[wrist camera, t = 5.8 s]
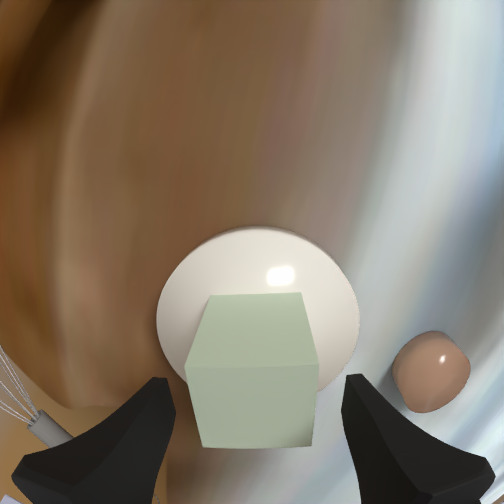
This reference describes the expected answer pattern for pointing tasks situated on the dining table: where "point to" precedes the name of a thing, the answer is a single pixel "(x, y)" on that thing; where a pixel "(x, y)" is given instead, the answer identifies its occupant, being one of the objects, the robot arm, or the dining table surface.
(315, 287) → the stand
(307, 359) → the sage block
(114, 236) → the dining table surface
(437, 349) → the tan rounded knob
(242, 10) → the dining table surface
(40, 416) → the kitchen whisk
